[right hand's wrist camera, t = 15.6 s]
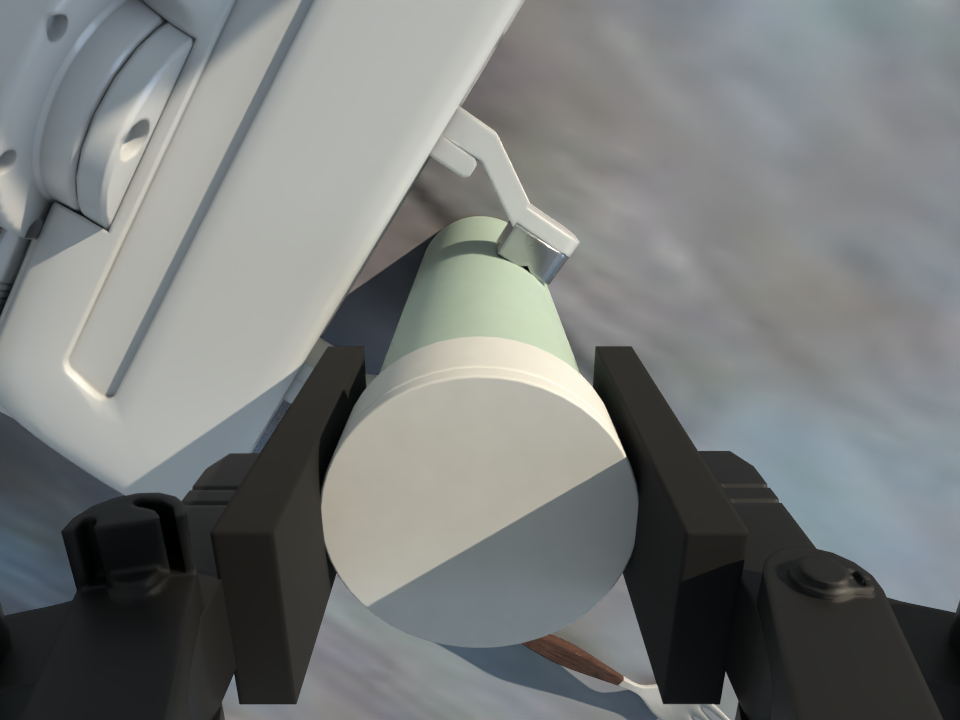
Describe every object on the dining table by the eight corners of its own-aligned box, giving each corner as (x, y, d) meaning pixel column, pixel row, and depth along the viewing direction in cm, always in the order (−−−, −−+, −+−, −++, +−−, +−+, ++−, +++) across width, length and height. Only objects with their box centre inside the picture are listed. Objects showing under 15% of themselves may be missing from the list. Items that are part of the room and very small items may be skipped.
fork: (472, 574, 30) (472, 605, 28) (744, 710, 33) (760, 746, 31) (444, 613, 31) (441, 645, 29) (712, 742, 34) (725, 779, 32)
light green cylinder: (430, 205, 25) (358, 349, 10) (549, 228, 25) (650, 400, 10) (413, 320, 26) (327, 590, 11) (525, 339, 26) (581, 628, 12)
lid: (414, 610, 13) (405, 684, 11) (291, 400, 11) (258, 450, 10) (654, 525, 12) (681, 590, 11) (558, 289, 11) (574, 322, 9)
